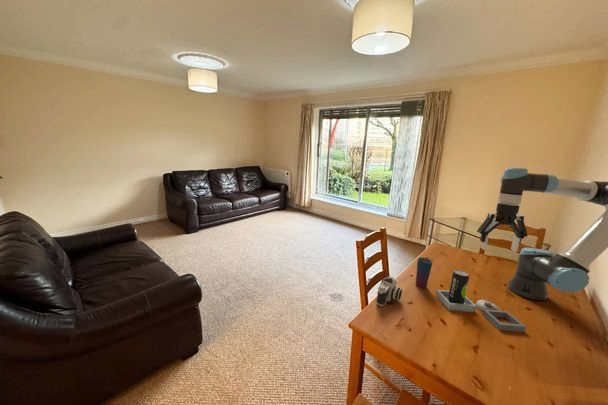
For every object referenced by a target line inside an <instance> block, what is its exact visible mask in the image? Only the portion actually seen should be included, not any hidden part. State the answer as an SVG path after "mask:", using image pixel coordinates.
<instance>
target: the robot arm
mask: <svg viewBox="0 0 608 405" xmlns="http://www.w3.org/2000/svg"><path fill="white" fill-rule="evenodd" d="M500 183H501V185H500V188H499V189H500V190H499V193H498V194H499V195H498V200H497V202H498V203H497V204H496V208H495V209H496V210H495V211H496V213H491V212H488V213H487V216H486V218H485V220H484V221H483V223H482V224H481V225H480V226H479V227H478V228H477V230H476V232H477V233H479V234H480V247H479V248H480V249H482V250H484V251H486V250H487V246H488V241H489V236H490V235H489V234H490V233H491V232H493V231H494V230H495V229H496V228H497V227H499V226H501V225H502V226H504V225H507V226H509V227H510V228H511V230H512V232H513V233H514V236H513V238H512V243H511V248H510V251H513V252H514V253H518V251H519V247H520V246H521V242H522V239H525V238H526V237H528V236H529V234H528V231H527V228H526V225H525V216H524V215H521V214H519V211H520V205H521V202H522V197H523V192H534V193H535V192H536V193H543V194H549V195H557V196H563V197H568V198H569V197H570V198H576V199H578V200H579V201H583V202H588V203H593V204H595V205H600V206H603V207H604V209H605V211H604V212H603V213H602V214H601V215H600V216H599V217H598V218H597V219H596V220H595V221H594V222H593V223H591V225H590V226H589V227H588V228H587V229H586V230H585V231H584V232H583V233H582V234H581V235H580V236H579V237H577V239H576V240H575V241H574V242H573V243H571V245H570V246H569V247H567V249H566V250H565V251H564V252H558V253H555V255H554V252H552V251H550V250H546V249H540V248H536V247H535V248H534V247H523V248H521V251H520V252H519V254H518V256H519V257H518V260H517V264H516V269H515V273H514V275H513V276H512V278H511V279H510V280H509V281H508V285H507V288H508V289H509V290H510V291H511V292H513V293H515V294H517V295H520V296H522V297H525V298H527V299H531V300H537V301H547V299H548V296H549V293H548V287H547V285H550V286H551V287H552V288H554V289H557V290H559V291H561V292H564V293H577V292H581V291H582V290H583V289H585V288H586V287H587V286H588V285H589V282H590V275H589V273H590V272H591V270H590V265H592V263H593V262H594V261H596V260H597V258H598V257H599V256H600V255H602V254H603V252H605V251H606V250H607V249H608V181H596V180H584V181H580V180H572V179H565V178H558V177H557V176H556V175H553V174H545V173H544V174H543V173H542V174H541V173H533V172H532V173H528V169H527V168H525V167H524V168H521V167H506V168H505V169H504V172H503V174H502V176H501V178H500Z"/></svg>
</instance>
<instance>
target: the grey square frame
mask: <svg viewBox="0 0 608 405" xmlns="http://www.w3.org/2000/svg"><path fill="white" fill-rule="evenodd" d="M475 305H476V309H477V310H479V311H481V312H482V313H481V315H482V316H483V317H484V318H485V319H487V321H488V322H489V323H490V324H492V325H493V326H494V328H496V329H497V330H498V331H501V332H502V331H503V332H504V331H505V332H517V333H526V330H527V329H526V328H527V326H526V325H525V324H524V323H523V322H521V321H520V320H519V319H517V318H516V317H515V316H514V315H513V314H511V313H510V312H509V311H507V310H501V309H500V310H499V306H498V305H497V304H495V303H493V302H490V301H488V300H484V299H478V300H477V301H476V303H475ZM497 318H504V319H505V320H507V321H508V322H509V323H505V322H501V321H500V320H498V319H497Z"/></svg>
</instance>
